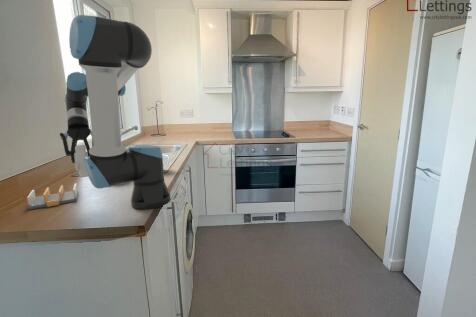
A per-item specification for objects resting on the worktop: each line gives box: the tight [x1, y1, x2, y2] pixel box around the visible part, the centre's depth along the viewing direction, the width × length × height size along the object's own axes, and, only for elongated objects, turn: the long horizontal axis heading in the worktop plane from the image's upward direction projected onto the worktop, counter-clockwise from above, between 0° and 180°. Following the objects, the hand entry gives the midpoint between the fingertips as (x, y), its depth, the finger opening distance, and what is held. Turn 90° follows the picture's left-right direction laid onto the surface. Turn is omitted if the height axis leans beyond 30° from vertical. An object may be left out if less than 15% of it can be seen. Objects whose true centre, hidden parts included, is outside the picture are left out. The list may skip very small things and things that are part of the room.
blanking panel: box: [75, 144, 88, 178], centre depth 101 cm, size 6×3×12 cm, turn 28°
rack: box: [26, 182, 79, 210], centre depth 109 cm, size 13×16×5 cm
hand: (82, 168), depth 98 cm, fingers closed on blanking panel, 3 cm apart
